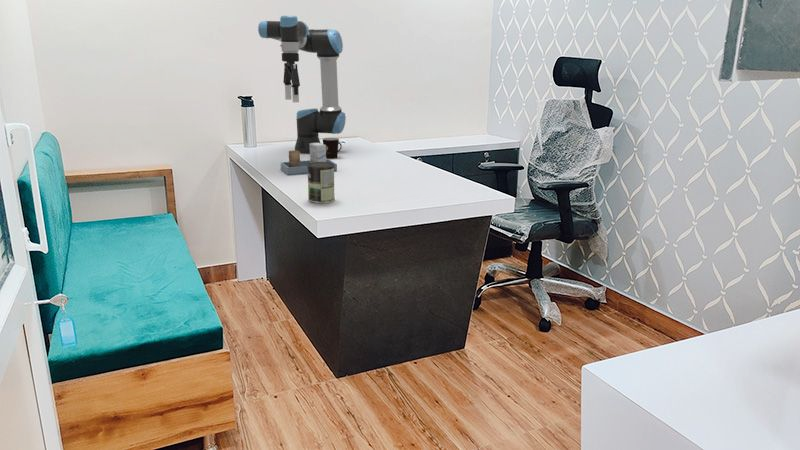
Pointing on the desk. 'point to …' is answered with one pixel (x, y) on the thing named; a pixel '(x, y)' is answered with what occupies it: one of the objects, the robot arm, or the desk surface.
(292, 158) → the walnut dowel
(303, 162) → the tray
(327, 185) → the coffee can
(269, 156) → the desk surface
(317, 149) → the ink box
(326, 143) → the coffee mug
